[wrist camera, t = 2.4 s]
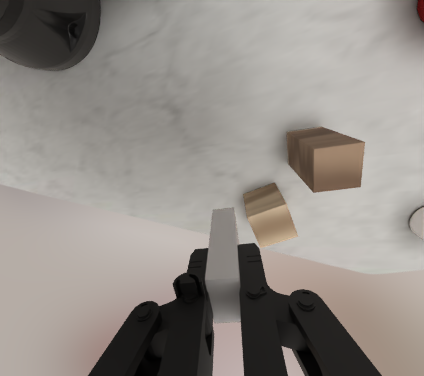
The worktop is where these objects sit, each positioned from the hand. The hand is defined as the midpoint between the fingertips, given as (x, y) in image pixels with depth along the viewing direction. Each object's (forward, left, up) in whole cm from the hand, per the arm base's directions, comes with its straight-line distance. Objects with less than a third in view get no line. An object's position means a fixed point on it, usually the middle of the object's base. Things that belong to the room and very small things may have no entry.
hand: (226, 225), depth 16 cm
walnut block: (0, +11, -18) cm, 21 cm away
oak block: (+8, +5, -18) cm, 20 cm away
